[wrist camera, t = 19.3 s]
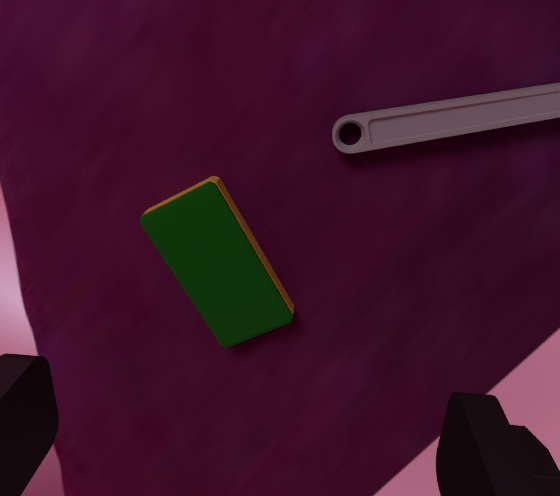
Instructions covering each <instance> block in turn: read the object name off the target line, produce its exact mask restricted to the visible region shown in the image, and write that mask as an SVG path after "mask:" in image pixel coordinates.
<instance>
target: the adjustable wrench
mask: <svg viewBox="0 0 560 496" xmlns="http://www.w3.org/2000/svg"><path fill="white" fill-rule="evenodd" d="M559 117H560V83H554V84H547V85H540V86H534V87H527V88H521V89H514V90H508V91H501V92H495V93H488V94H482V95H475V96H468V97H462V98H455V99H449V100H442V101H436V102H429V103H423V104H416V105H409V106H403V107H396V108H390V109H383V110H377V111H370V112H364V113H357V114H351V115H346V116H343V117H341V118H340V119H338V120H337V122H336V123H335V124H334V127H333V130H332V137H333V142H334V144H335V146H336V147H337V149H339V150H340V151H342V152H344V153H358V152H364V151H369V150H375V149H381V148H387V147H392V146H398V145H404V144H409V143H415V142H421V141H427V140H432V139H438V138H444V137H450V136H455V135H461V134H467V133H473V132H478V131H484V130H490V129H495V128H501V127H507V126H513V125H518V124H524V123H530V122H536V121H541V120H547V119H553V118H559ZM346 123H355V124H357V125H358V126H359V127H360V129H361V138H360V140H359V141H358V142H357V143H356V144H354V145H346V144H344V143H342V142H341V140H340V138H339V131H340V128H341V127H342V126H343V125H344V124H346Z"/></svg>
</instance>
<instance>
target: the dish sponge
mask: <svg viewBox="0 0 560 496" xmlns="http://www.w3.org/2000/svg"><path fill="white" fill-rule="evenodd" d="M140 224H141V225H142V227H143V228H144V230H145V231H146V233H147V234H148V236H149V237H150V239H151V240H152V242H153V243H154V245H155V246H156V248H157V249H158V251H159V252H160V254H161V255H162V257H163V258H164V260H165V261H166V263H167V264H168V266H169V267H170V269H171V270H172V272H173V273H174V275H175V276H176V278H177V279H178V281H179V282H180V284H181V285H182V287H183V288H184V290H185V291H186V293H187V294H188V296H189V297H190V299H191V300H192V302H193V303H194V305H195V306H196V308H197V309H198V311H199V312H200V314H201V315H202V317H203V318H204V320H205V321H206V323H207V324H208V326H209V327H210V329H211V330H212V332H213V333H214V335H215V336H216V338H217V339H218V341H219V342H220V344H221V345H222V346H223V347H226V348H228V347H230V346H233V345H235V344H238V343H240V342H243V341H245V340H248V339H250V338H253V337H255V336H258V335H260V334H263V333H265V332H268V331H270V330H273V329H275V328H278V327H280V326H283V325H285V324H288V323H290V322H292V319H293V313H294V305H293V303H292V301H291V300H290V298H289V296H288V294H287V293H286V291H285V289H284V288H283V286H282V284H281V282H280V281H279V279H278V277H277V276H276V274H275V272H274V270H273V269H272V267H271V265H270V264H269V262H268V260H267V258H266V257H265V255H264V253H263V252H262V250H261V248H260V246H259V245H258V243H257V241H256V240H255V238H254V236H253V234H252V233H251V231H250V229H249V228H248V226H247V224H246V222H245V221H244V219H243V217H242V215H241V214H240V212H239V210H238V209H237V207H236V205H235V203H234V202H233V200H232V198H231V197H230V195H229V193H228V191H227V190H226V188H225V186H224V185H223V183H222V181H221V179H220V178H219V177H216V176H212V177H210V178H208V179H206V180H204V181H202V182H200V183H198V184H196V185H194V186H192V187H190V188H188V189H186V190H184V191H183V192H181V193H179V194H177V195H175V196H173V197H171V198H169V199H167V200H165V201H163V202H161V203H159V204H157V205H155V206H153V207H151V208H149V209H148V210H147V211H146V212H145V213H144V214H143V215H142V216H141V217H140Z"/></svg>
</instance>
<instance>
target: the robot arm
mask: <svg viewBox="0 0 560 496" xmlns="http://www.w3.org/2000/svg"><path fill="white" fill-rule="evenodd" d="M58 424H59V414H58V408H57V403H56V398H55V393H54V387H53V382H52V377H51V371H50V366H49V363H48V361H47V359H46V358H45V357H42V356H31V355H19V354H3V355H1V356H0V496H21V494H22V492H23V491H24V489H25V488H26V486H27V485H28V483H29V481H30V480H31V478H32V477H33V475H34V474H35V472H36V470H37V469H38V467H39V466H40V464H41V462H42V461H43V459H44V458H45V456H46V455H47V453H48V451H49V450H50V448H51V447H52V445H53V442H54V440H55V437H56V434H57V430H58ZM436 474H437V482H438V487H439V491H440V494H441V496H560V471H559V469H558V467H557V465H556V463H555V462H554V460H553V458H552V456H551V454H550V452H549V450H548V449H547V448H546V447H545V446H544V445H543V444H542V443H541V442H540V441H539V440H538V439H537V438H536V437H535V436H534V435H533V434H532V433H531V432H530V431H529V430H528V429H527V428H526V427H525V426H517V425H510V424H509V422H508V420H507V418H506V415H505V414H504V411H503V409H502V407H501V405H500V403H499V401H498V399H497V398H496V397H495V396H493V395H485V394H473V393H461V392H453V393H452V394H451V396H450V398H449V401H448V406H447V410H446V414H445V418H444V422H443V427H442V431H441V435H440V439H439V443H438V448H437V454H436Z"/></svg>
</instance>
